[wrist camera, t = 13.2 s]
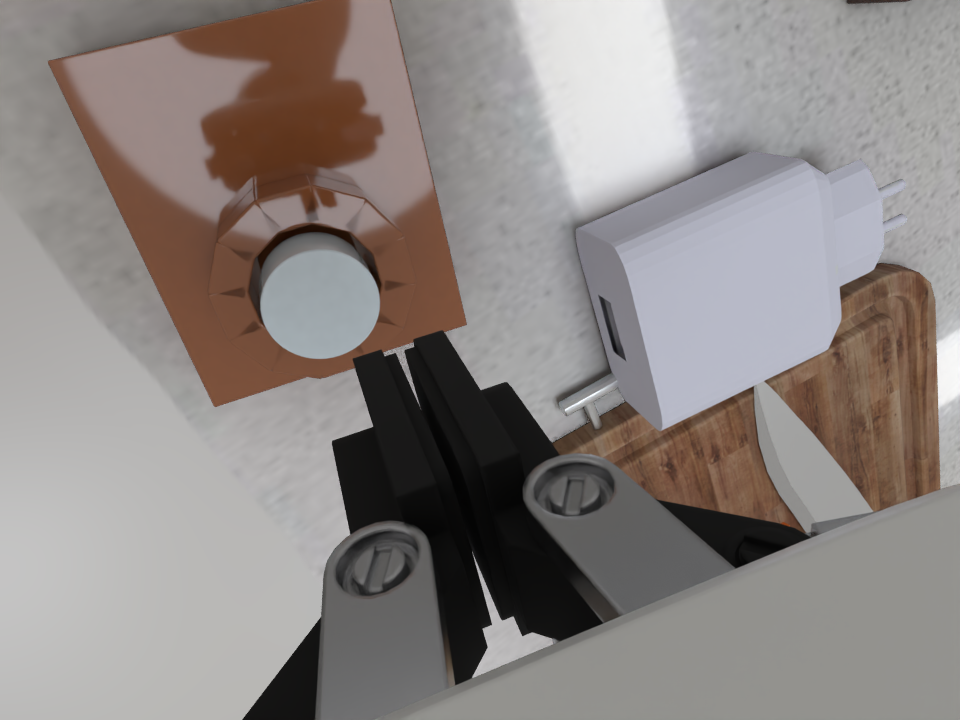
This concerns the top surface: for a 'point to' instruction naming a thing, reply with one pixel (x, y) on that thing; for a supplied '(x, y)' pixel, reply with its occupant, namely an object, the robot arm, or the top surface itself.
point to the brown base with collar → (268, 175)
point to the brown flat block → (873, 1)
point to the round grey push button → (317, 296)
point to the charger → (729, 277)
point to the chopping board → (800, 422)
